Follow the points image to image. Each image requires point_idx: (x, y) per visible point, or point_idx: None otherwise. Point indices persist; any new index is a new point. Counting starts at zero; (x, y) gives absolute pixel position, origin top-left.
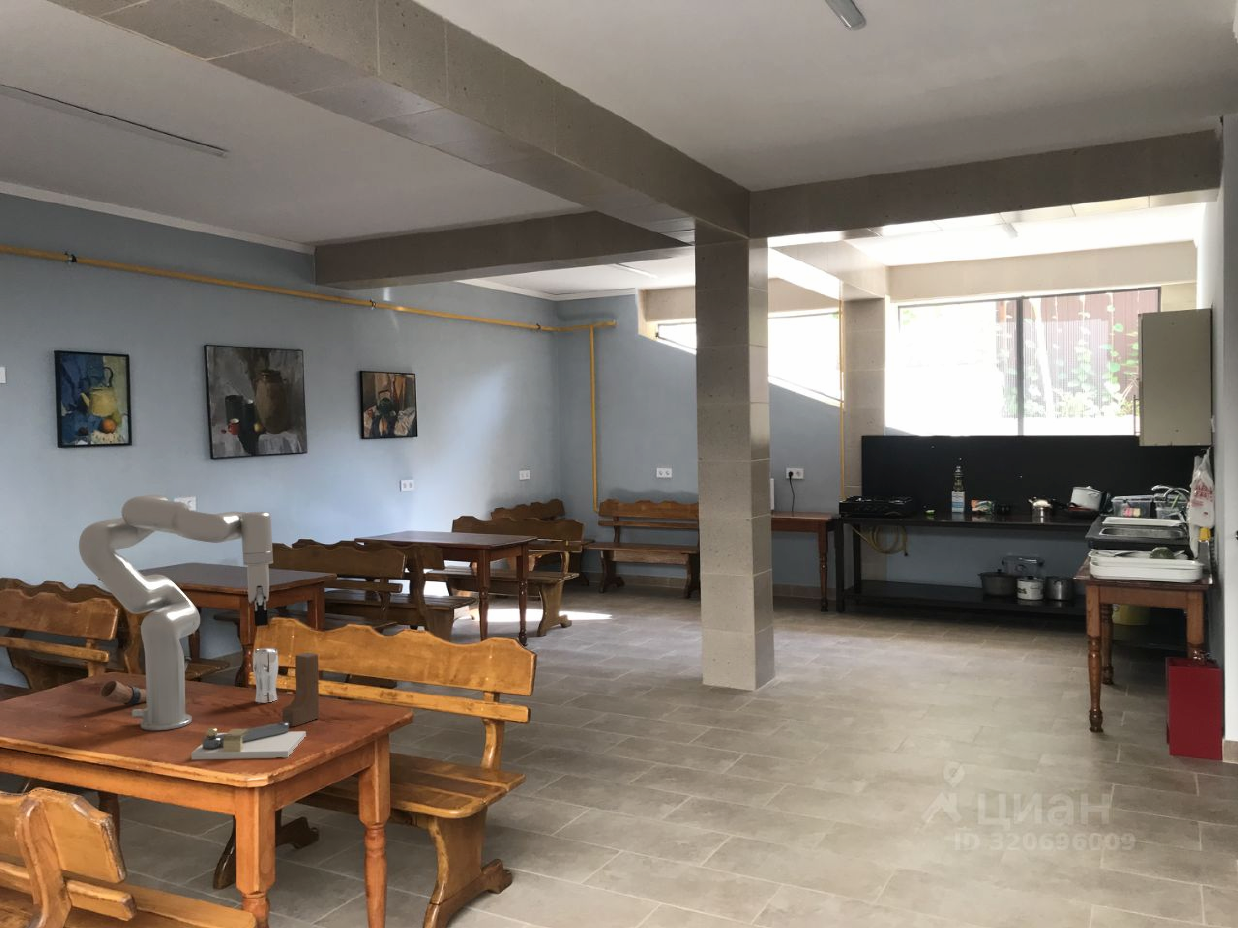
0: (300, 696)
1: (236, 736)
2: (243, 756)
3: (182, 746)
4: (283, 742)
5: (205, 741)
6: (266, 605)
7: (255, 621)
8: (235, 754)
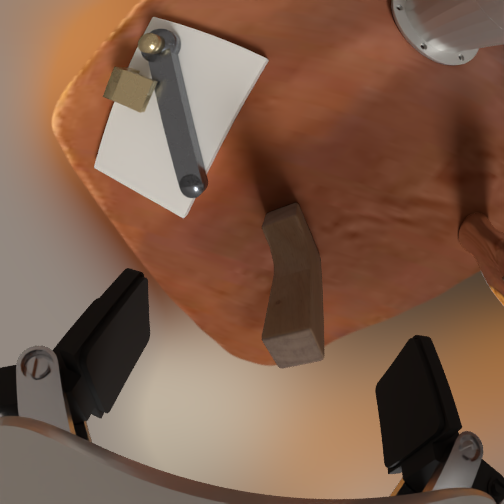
0: (288, 262)
1: (106, 89)
2: None
3: (250, 3)
4: (136, 168)
5: None
6: (387, 466)
7: (113, 289)
8: None
